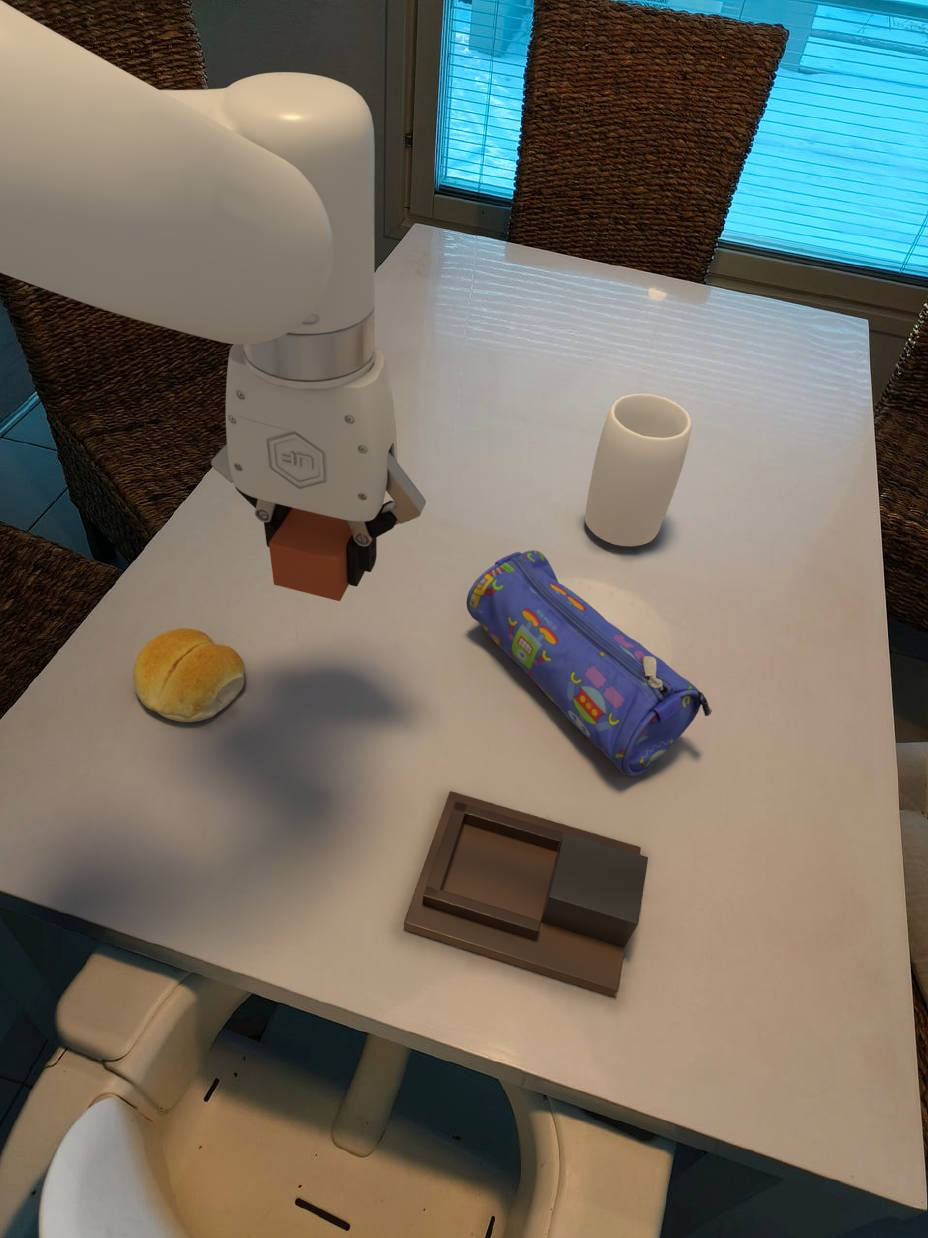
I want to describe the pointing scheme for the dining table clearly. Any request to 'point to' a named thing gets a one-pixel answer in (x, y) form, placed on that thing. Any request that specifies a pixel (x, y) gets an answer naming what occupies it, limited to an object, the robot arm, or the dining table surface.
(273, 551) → the orange block
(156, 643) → the bread roll
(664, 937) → the dining table surface
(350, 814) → the dining table surface
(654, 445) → the cup
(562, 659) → the pencil case
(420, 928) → the brown wooden tray
